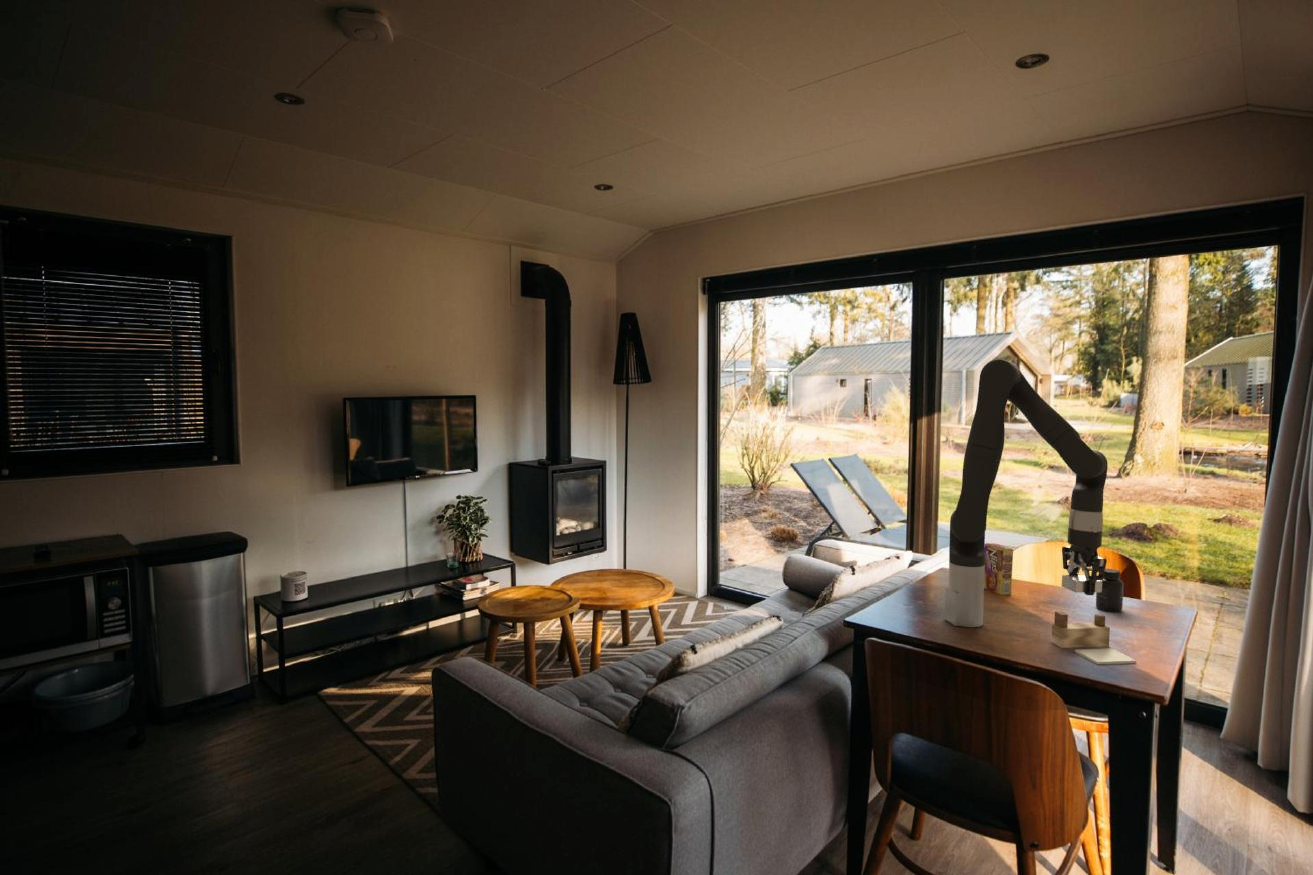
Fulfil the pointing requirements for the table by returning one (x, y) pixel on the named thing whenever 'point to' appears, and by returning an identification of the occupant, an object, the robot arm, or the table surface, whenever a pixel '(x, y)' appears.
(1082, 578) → the lever cap
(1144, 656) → the table surface
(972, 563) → the robot arm
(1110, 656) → the mat
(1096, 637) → the body
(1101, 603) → the supplement bottle
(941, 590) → the table surface
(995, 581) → the candy box
